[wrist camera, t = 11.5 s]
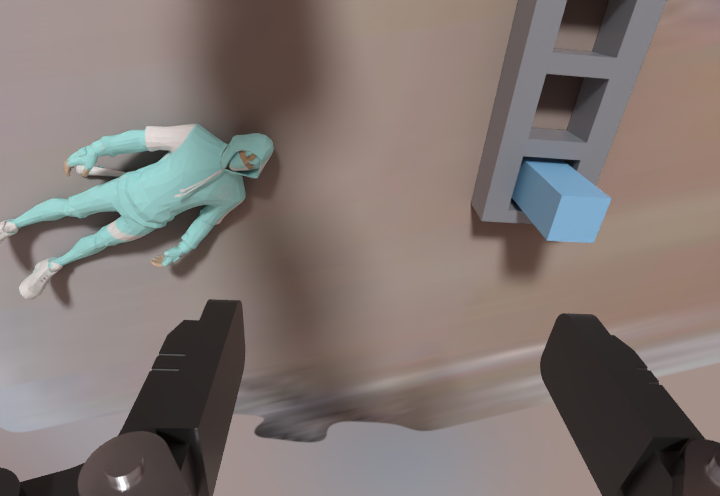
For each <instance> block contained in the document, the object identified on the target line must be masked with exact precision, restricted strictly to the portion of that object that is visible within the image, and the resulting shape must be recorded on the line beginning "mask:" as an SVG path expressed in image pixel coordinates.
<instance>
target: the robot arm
mask: <svg viewBox="0 0 720 496" xmlns="http://www.w3.org/2000/svg"><path fill="white" fill-rule="evenodd" d="M244 362H245V338H244V324H243V311H242V303H241V301H238V300H211V299H210V300H208V301H207V303H206V306H205V308H204V310H203V313H202V315H201V318H200V320H199V321H197V320H184V321H183V322H181V323H180V324H179V325H178V326H177V327H176V328H175V329H174V330H173V331H171V332H170V333H169V334H168V335H167V337H166V339H165V341H164V343H163V346H162V348H161V350H160V352H159V356H157V358H156V360H155V362H154V364H153V366H152V371H150V372H149V374H148V376H147V378H146V380H145V383H144V385H143V387H142V389H141V391H140V393H139V395H138V397H137V399H136V401H135V403H134V405H133V407H132V409H131V411H130V413H129V415H128V418H127V420H126V422H125V424H124V426H123V428H122V430H121V431H120V433H119V435H118V436H117V437H115V438H112V439H111V440H109V441H107V442H106V443H104V444H103V445H101V446H100V447H99V448H98V449H96V451H94V452H93V453H92V454H91V456H90V457H89V458H88V459H87V461H86V462H85V463H83V464H81V465H78V466H76V467H73V468H71V469H67V470H64V471H60V472H56V473H52V474H49V475H45V476H41V477H38V478H34V479H30V480H27V481H23V482H19V480H18V478H17V476H16V475H15V474H14V473H13V472H12V471H9V470H7V469H4V468H0V496H213V493H214V488H215V484H216V480H217V476H218V472H219V468H220V464H221V460H222V456H223V452H224V448H225V444H226V440H227V435H228V431H229V427H230V423H231V419H232V415H233V411H234V407H235V403H236V399H237V395H238V391H239V387H240V383H241V378H242V374H243V369H244ZM540 370H541V376H542V379H543V381H544V384H545V385H546V387H547V389H548V391H549V393H550V395H551V397H552V399H553V401H554V403H555V405H556V407H557V409H558V411H559V413H560V415H561V417H562V418H563V420H564V422H565V424H566V426H567V428H568V430H569V432H570V434H571V436H572V438H573V440H574V441H575V444H576V446H577V447H578V449H579V451H580V453H581V455H582V457H583V459H584V461H585V463H586V465H587V467H588V469H589V471H590V473H591V475H592V476H593V479H594V481H595V482H596V484H597V486H598V488H599V490H600V492H601V494H602V496H720V443H719V442H715V441H713V440H707V439H705V438H704V437H703V436H702V435H701V433H700V432H699V431H698V429H697V428H696V427H695V426H694V424H693V423H692V422H691V421H690V419H689V418H688V417H687V416H686V414H685V413H684V412H683V411H682V410H681V408H680V407H679V406H678V405H677V403H676V402H675V401H674V400H673V398H672V397H671V396H670V395H669V393H668V392H667V391H666V390H665V389H664V387H663V386H662V385H659V381H658V380H657V378H656V377H655V376H654V375H653V374H652V372H651V371H648V370H647V366H646V365H645V364H644V362H643V361H642V360H641V359H640V357H639V356H638V355H637V354H636V352H635V351H634V350H633V349H631V348H630V347H629V346H628V345H626V344H625V343H624V342H622V341H621V340H620V339H618V338H617V337H616V336H614V335H610V334H609V332H608V331H607V330H606V328H605V327H604V326H603V325H602V323H601V322H600V321H599V319H598V318H597V317H596V316H594V315H591V314H565V313H563V314H561V315H559V316H558V318H557V319H556V322H555V324H554V327H553V329H552V332H551V334H550V337H549V339H548V342H547V344H546V347H545V349H544V352H543V354H542V357H541V362H540Z"/></svg>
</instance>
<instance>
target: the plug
mask: <svg viewBox="0 0 720 496" xmlns="http://www.w3.org/2000/svg"><path fill="white" fill-rule="evenodd" d="M512 198H513V200H514V201H515V202H516V203H517V205H518V206H519V207H520V208H521V209H522V211H523V212H524V213H525V214H526V216H527V217H528V218H529V219H530V221H531V222H532V223H533V224H534V225H535V227H536V228H537V229H538V230H539V232H540V233H541V234H542V235H543V237H544V238H545V239H546V240H547V241H565V242H586V243H594V241H595V238H596V236H597V233H598V231H599V228H600V226H601V223H602V221H603V218H604V216H605V214H606V211H607V209H608V206H609V204H610V201H611V199H612V198H610V197H609V196H608V195H607V194H605V193H604V192H603V191H601V190H600V189H599V188H598V187H596V186H595V185H594V184H592V183H591V182H590V181H589V180H587V179H586V178H585V177H583V176H582V175H581V174H580V173H578V172H577V171H576V170H575V169H573V168H572V167H571V166H569V165H568V164H567V163H566V162H564V161H563V160H562V159H555V158H541V157H526V156H523V159H522V162H521V166H520V169H519V173H518V176H517V180H516V183H515V187H514V190H513V194H512Z"/></svg>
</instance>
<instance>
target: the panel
mask: <svg viewBox="0 0 720 496" xmlns="http://www.w3.org/2000/svg"><path fill="white" fill-rule="evenodd" d="M666 1H667V0H609V2H608V5H607V8H606V11H605V14H604V17H603V20H602V23H601V26H600V29H599V33H598V36H597V39H596V42H595V45H594V48H593V51H592V52H590V51H578V50H567V49H556V48H554V45H555V42H556V38H557V34H558V31H559V27H560V24H561V20H562V17H563V13H564V10H565V6H566V2H567V0H518V3H517V7H516V12H515V16H514V20H513V25H512V29H511V33H510V38H509V42H508V46H507V51H506V55H505V59H504V63H503V68H502V72H501V76H500V81H499V85H498V89H497V94H496V98H495V102H494V106H493V111H492V115H491V119H490V124H489V128H488V132H487V137H486V141H485V145H484V150H483V154H482V158H481V162H480V167H479V171H478V175H477V180H476V184H475V188H474V193H473V197H472V201H471V205H472V206H473V208H474V210H475V211H476V213H477V214H478V216H479V218H480V219H481V221H488V222H505V223H523V224H533V223H532V222H531V221H530V219H529V218H528V217H527V216H526V214H525V213H524V212H523V211H522V209H521V208H520V207H519V206H518V205H517V203H516V202H515V201H514V200H513V198H512V194H513V190H514V187H515V183H516V180H517V176H518V173H519V169H520V166H521V162H522V159H523V156H526V157H541V158H555V159H562V160H563V161H564V162H566V163H567V164H568V165H569V166H571V167H572V168H573V169H575V170H576V171H577V172H578V173H580V174H581V175H582V176H583V177H585V178H586V179H587V180H589V181H590V182H591V183H592V184H594V185H595V186H596V184H597V181H598V179H599V176H600V173H601V171H602V168H603V165H604V163H605V160H606V158H607V155H608V152H609V150H610V147H611V145H612V142H613V139H614V137H615V134H616V132H617V129H618V126H619V124H620V121H621V118H622V116H623V113H624V111H625V108H626V105H627V103H628V100H629V98H630V95H631V92H632V90H633V87H634V85H635V82H636V79H637V77H638V74H639V71H640V69H641V66H642V64H643V61H644V58H645V56H646V53H647V51H648V48H649V45H650V43H651V40H652V38H653V35H654V32H655V30H656V27H657V24H658V22H659V19H660V17H661V14H662V11H663V9H664V6H665V4H666ZM546 74H556V75H568V76H580V77H584V79H583V82H582V85H581V88H580V91H579V94H578V97H577V100H576V103H575V107H574V110H573V113H572V116H571V119H570V122H569V125H568V128H567V130H556V129H543V128H531V127H532V123H533V120H534V116H535V112H536V109H537V105H538V102H539V98H540V95H541V91H542V88H543V84H544V81H545V77H546Z"/></svg>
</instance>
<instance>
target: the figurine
mask: <svg viewBox="0 0 720 496" xmlns="http://www.w3.org/2000/svg"><path fill="white" fill-rule="evenodd" d="M157 150H168V151H169V152H168V153H167V154H166V155H165V156H164V157H163V158H162V159H160V160H159V161H158V162H157V163H154V164H151V165H148V166H146V167H143V168H141V169H138V170H136V171H131V172H127V173H126V172H122V171H117V170H111V169H105V168H103V167H101V166H97V167H94V165H95V164H96V162H97V158H98V156H105V155H109V156H111V157H113V156H115V155H117V154H126V153H134V152H142V151H150V152H153V151H157ZM273 151H274V147H273V142H272V140H271V139H270V138H269V137H268V136H267V135H263V134H260V133H251V134H246V135H235V136H234V137H233V138H232V140H231V141H230V143H229V144H226V143H224V142H223V141H221V140H220V139H218V138H217V137H215V136H214V135H213V134H211V133H210V132H208V131H207V130H206V129H204V128H203V127H201V126H200V125H199V124H187V125H179V126H170V127H158V126H147V127H146V129H145V130H130V131H127V132H124V133H122V134H119V135H114V136H104V137H102V138H101V139H100V140H98V141H95V142H93V143H92V144H91V145H90V146H86V147H83V148H80V149H79V150H78V151H77V152H75V153H73V154H72V155H71V156H70V157H69V158H68V159H67V160H66V161H65V163H64V172H65V173H66V174H67V176H70V171H71V168H74V166H76V165H78V166H77V168H76V171H77V173H78V174H81V175H82V176H83V177H87V176H90V175H91V176H93V175H95V176H113V177H119V178H116V179H113V180H110V181H108V182H105V183H102V184H99V185H97V186H94V187H92V188H90V189H88V190H86V191H84V192H82V193H79V194H77V195H74V196H71V197H69V198H68V199H69V200H68V199H61V198H53V199H50V200H47V201H45V202H42V203H40V204H38V205H36V206H35V207H33V208H32V209H30V210H29V211H27V212H26V213H24V214H23V215H21V216H20V217H18V218H17V219H9V220H5V221H3V222H0V242H2V241H3V240H5V239H6V238H8V237H10V236H12V235H14V234H16V233H17V232H18V229H20V228H21V227H24V226H27V225H30V224H34V223H37V222H41V221H53V220H58V219H61V218H63V217H65V216H70V217H78V218H79V219H81V218H86V217H87V216H89V215H92V214H95V213H98V212H109V211H117V212H119V213H120V215H121V217H119V218H118V219H117V220H115V221H114V222H112V223H110V224H108V225H107V226H104V227H102V228H101V230H99V231H98V232H97V233H96V234H94V235H90V236H86V237H83V238H81V239H80V240H79V241H78V242H77V243H76V245H75V246H74V247H73V248H72V249H71V250H70V251H69V252H68V253H66V254H65V255H63V256H62V257H60V258H55V257H52V258H49V259H46V260H43V261H41V262H39V263H37V265H36V266H35V270H34V271H33V273H32V274H31V275H29V276H28V277H27V278H26V279H25V280H24V281H23V282H22V283H21V285H20V287H19V291H20V293H21V295H22V296H23V297H25V298H26V299H29V300H30V299H34V298H36V297H37V296H38V295H40V294H41V293H42V291H43V290H44V288H45V287H46V285H47V283H48V282H49V280H50V279H51V277H52V276H53V275H54V274H55V273H57V272H58V271H59V270H60V269H62V267H63V265H66V264H68V263H71V262H73V261H75V260H78V259H81V258H84V257H87V256H90V255H93V254H96V253H98V252H100V251H102V250H104V249H105V248H106V247H107V246H112V245H113V246H115V245H117V244H119V243H124V242H130V241H133V240H135V239H138V238H141V237H143V236H145V235H147V234H149V233H150V232H152V231H153V230H155V229H156V228H161V227H164V226H166V224H167V222H168V221H172V220H173V219H174V217H175V216H176V215H178V214H180V213H181V212H183V211H186V210H188V209H191V208H194V207H197V206H201V205H206V206H205V207H204V208H203V209H201V210H200V215H199V216H198V217H197V219H196V220H195V221H194V222H193V223H192V225H191V226H190V227H189V228H188V230H187V231H186V233H185V234H184V235H183V236H182V237H181V238H182V241H181V242H180V243H179V246H178V247H172V248H171V249H169V250H168V251H165V253H164V254H165V256H157V255H156V257H155V258H153V259H152V261H151V264H153V265H154V266H155V267H164V266H167V265H169V264H170V263H172V262H173V261H176V260H178V259H179V258H181V257H182V255H183V254H187V253H189V252H190V251H191V250H192V249H196V247H197V246H198V244H199V243H200V242H201V241H202V240H203V239H204V238H205V237H206V236H207V235H208V233H209V232H210V231H211V229H212V228H213V227H214V225H217V224H219V223H220V222H221V221H222V220H223V218H224V217H225V216H226V215H227V214H228V213H229V212H230V211H231V210H233V209H234V208H235V207H237V206H238V205H239V204H241V203H242V202H243V201H244V199H245V197H246V192H245V187H244V182H243V177H242V175H243V176H247V177H250V178H258V176H259V175H260V173H261V171H262V170H263V168H264V167H265V165H266V163H267V162H268V160H269V158H270V157H271V155H272V153H273ZM156 258H158V259H156Z"/></svg>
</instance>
